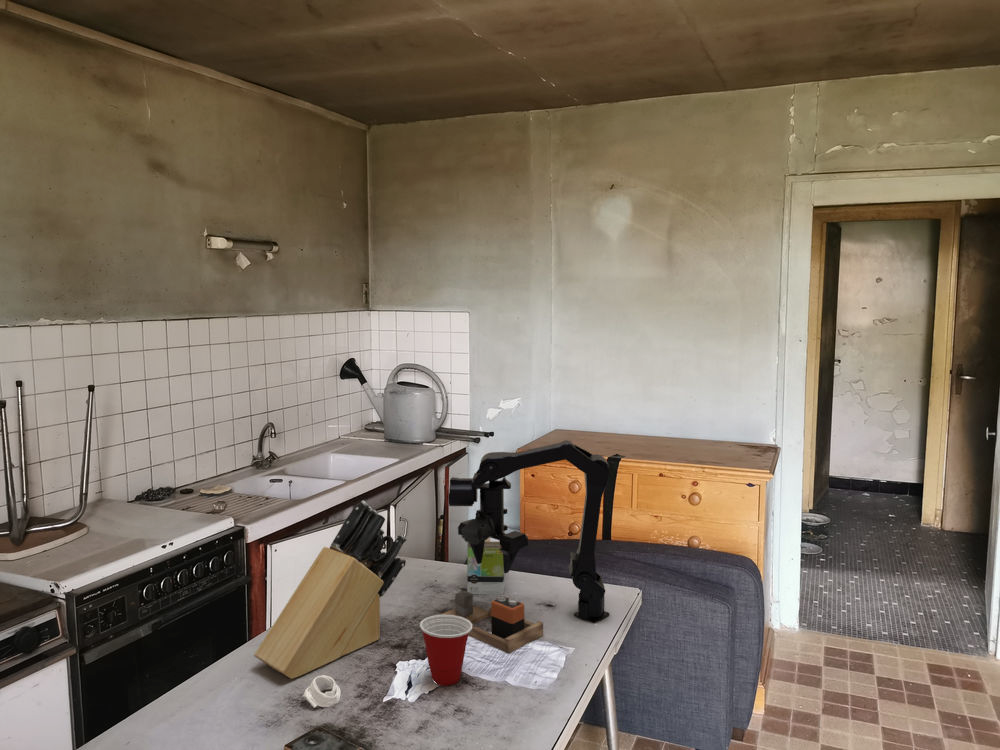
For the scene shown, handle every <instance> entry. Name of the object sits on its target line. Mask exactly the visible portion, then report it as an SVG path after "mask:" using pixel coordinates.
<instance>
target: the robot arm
mask: <svg viewBox="0 0 1000 750" xmlns="http://www.w3.org/2000/svg"><path fill="white" fill-rule="evenodd" d="M559 461H560V462H561V461H567V462H568V463H570V464H572V465H573V466H574V467H576V468H577V469H578V470H580V471H581V472H583V474H584V485H585V496H584V505H583V510H582V519H581V528H580V533H579V534H580V536H579V544H578V547H577V550H576V552H573V551H570V562H569V564H568V571H569V572H568V573H569V577H571V578H572V584H573V585H574V586H575V588H576V589H578V590H579V592H578V600H577V601H578V603H577V606H578V607H577V611H576V612H574V613H573V617H576V618H578V619H581V620H584V621H587V622H590V623H593V624H596V623H598V622H600V621H602V620H603V619H605V618H607V617H610V612H608V611H605V593H606V588H605V584H604V581H603V577H602V576H601V574H599V572H597V566H596V565H597V564H596V552H595V550H596V544H597V536H598V529H599V522H600V521H599V520H600V514H601V513H600V512H601V505H602V498H603V495H604V494H605V493H604V492H605V491H606V489H607V487H608V486H607V485H608V482H609V480H610V476H611V467H610V465H609V463H608V461H607V459H606V458H605V457H604V455H601V454H598V453H597V454H593V453H591V452H589V451H588V450H586V449H584V448H582V447H580V446H578V445H576V444H574V443H573V442H572V441H570V440H568V439H567V440H563V441H561V442H556V443H552V444H547V445H544V446H538V447H534V448H529V449H525V450H520V451H516V452H509V451H507V452H506V451H495V452H494V451H491V452H488V453H485V454H484V455H483V456H482V457H481V459H480V463H479V466H478V469H477V471H476V472H474V474H473V477H472V478H464V477H463V478H462V477H461V478H460V477H451V478H450V479H449V491H448V506H449V507H473V506H474V504H475V503H477V502H478V492H479V509H478V510H476V513H475V517H474V518H471V519H469V520H465V521H462V522H460V523H459V525H458V527H457V529H458V530H457V535H459V536H461V538H462V539H463V540H464V542H465V543H468V542H469V543H470V546H471V548H472V550H473V553H474V556H475V559H476V562H477V564H481V562H482V558H483V551H484V544H485V540H487V539H488V538H489V537H490V538H493V539H497V540H500V546H501V547H502V548H500V549H499V550H500V551H501V552H502V553H503V567H504V573H505V574H506V575H507V574H508V573H509V572H510V569H511V568H512V565H513V563H514V561H515V559H516V557H517V555H518V554H519V552H520V550H521V549H524V548H525V547H526V546H529V537H528V535H527V534H526V533H523V532H520V531H516V530H513V531H511V532H507V533H506V531H507V530H508V525H506V524H505V520H504V519H505V517H504V516H505V515H506V514H508V509H507V508H504V506H505V505H504V504H505V502H504V501H505V499H504V497H505V496H504V495H505V494H504V493H505V492H504V490H511V488H512V483H511V482H510V480H508V479H507V478H506V477H508V476H509V475H511V474H513V473H516V472H517V471H520V470H524V469H528V468H532V467H533V468H534V467H537V466H541V465H546V464H551V463H556V462H559ZM487 482H488V483H487ZM478 490H479V491H478ZM504 531H505V533H504Z"/></svg>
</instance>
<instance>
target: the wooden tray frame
mask: <svg viewBox="0 0 1000 750" xmlns="http://www.w3.org/2000/svg"><path fill="white" fill-rule="evenodd" d="M454 597H455V600H454V602H455V608H452V609H450V610H448V611H444V612H443V613H441V614H440V615H455V616H459V617H463V618H465V619H467V620H469V621H470V622H471V623H472V630H471V631H470V633H469V636H468V637H472V638H474V639H477V640H478V641H480V642H483V643H485V644H487V645H489V646H491V645H492V647H494V648H496V649H499V650H501V651H502V652H505V653H508V654H510V653H512V652H514V651H516V650H518V649H520V648H521V646H522V647H524V646H526V645H528V644H530V643H531V642H534V641H535V640H537V639H539V638H541V637H543V636H544V622H542V621H537V622H535V623H534V622H531V621H530V620H529V621H528V620H527V619H524V629H523V630H521V631H519V632H517V633H515V634H513V635H511V636H509V637H507V638H505V639H503V638H500V637H498V636H496V635H493V634H492V632H489V631H486V630H484V629H481V628H479V627H477V626H475V625H474V624H476V623H479V622H481V621H482V620H483V621H484V619H487V618H491V607H490V608H489V609H488V610H486V609H483V608H482V607H479V606H476V605H474V594H472V593H469V592H467V590H462V591H460V592H457V593H455V596H454ZM529 642H530V643H529ZM527 643H528V644H527ZM525 644H526V645H525ZM523 645H524V646H523Z"/></svg>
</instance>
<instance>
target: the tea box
mask: <svg viewBox="0 0 1000 750" xmlns="http://www.w3.org/2000/svg"><path fill="white" fill-rule="evenodd" d="M504 533H505V534H506V530H505V531H504ZM500 548H502V547H501V546H500V540H497V539H493V538H490V537H489V538H488V539H487V540H485V544H484V551H483V558H482V562H481V564H477V562H476V559H475V556H474V553H473V550H472V548H471V546H470V543H469V542H467V549H466V551H467V555H466V556H467V559H466V561H467V562H466V563H467V564H466V565H467V567H466V568H467V569H466V570H467V572H466V573H467V574H466V576H467V577H466V581H467V582H466V583H467V584H466V585H467V586H466V588H467V590H466V592H469V593H472V594H473V595H504V592H505V576H506V575H505V573H504V567H503V553H502V552H501V551H500V550H499V549H500Z"/></svg>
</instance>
